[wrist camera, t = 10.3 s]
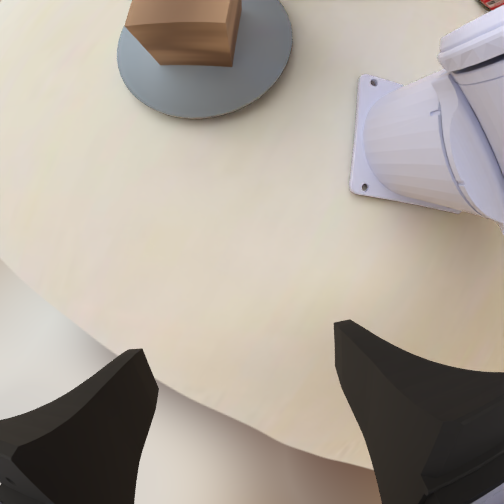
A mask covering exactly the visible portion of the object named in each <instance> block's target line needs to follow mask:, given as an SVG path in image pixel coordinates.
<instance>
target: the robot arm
mask: <svg viewBox="0 0 504 504" xmlns="http://www.w3.org/2000/svg"><path fill="white" fill-rule="evenodd" d="M440 51H441V52H440V53H439V54H438V55H437V59H438V61H439V62H440V64H441V65H442V66H443V68H444V69H442V70H439V71H437V72H435V73H432V74H430V75H428V76H425V77H423V78H421V79H418V80H416V81H414V82H412V83H409V84H407V85H405V86H404V85H401V84H398V83H395V82H392V81H389V80H386V79H382V78H379V77H375V76H372V75H368V74H363V75H361V76H360V77H359V79H358V93H357V109H356V123H355V135H354V146H353V156H352V165H351V174H350V182H349V188H350V191H351V192H352V193H354V194H358V195H364V196H370V197H376V198H382V199H388V200H393V201H398V202H404V203H409V204H414V205H419V206H424V207H429V208H434V209H438V210H443V211H447V212H452V213H456V214H459V213H461V212H462V211H464V212H467V213H471V214H474V215H478V216H481V217H484V218H488V219H491V220H493V221H495V222H496V223H497V224H498V225H499V227H500V229H501V231H502V234H503V235H504V5H502V6H500V7H498V8H496V9H494V10H492V11H490V12H488V13H486V14H484V15H482V16H480V17H478V18H476V19H474V20H472V21H470V22H468V23H467V24H465V25H463V26H461V27H459V28H457V29H456V30H454V31H452V32H450V33H449V34H447V35H445V36H444V37H442V38H441V39H440ZM371 81H374V82H375V85H376V86H372V84H371ZM363 184H366V185H367V189H366V191H363V190H362V185H363ZM334 339H335V367H336V371H337V374H338V377H339V381H340V384H341V387H342V390H343V392H344V394H345V396H346V398H347V401H348V403H349V405H350V407H351V409H352V411H353V413H354V416H355V418H356V420H357V422H358V424H359V426H360V429H361V431H362V433H363V436H364V438H365V441H366V444H367V447H368V451H369V454H370V457H371V461H372V464H373V468H374V472H375V475H376V479H377V483H378V487H379V492H380V496H381V500H382V504H504V373H502V372H481V371H473V370H466V369H460V368H455V367H451V366H447V365H443V364H439V363H436V362H433V361H430V360H427V359H424V358H421V357H419V356H416V355H413V354H411V353H409V352H407V351H404V350H402V349H400V348H398V347H396V346H394V345H392V344H390V343H388V342H387V341H385V340H383V339H381V338H380V337H378V336H376V335H375V334H373V333H371V332H370V331H368V330H366V329H365V328H363V327H362V326H360V325H358V324H357V323H355V322H353V321H352V320H345V321H340V322H335V323H334ZM158 390H159V388H158V386H157V383H156V381H155V379H154V376H153V374H152V372H151V369H150V367H149V364H148V362H147V359H146V357H145V354H144V352H143V349H129V350H127V351H125V352H124V353H122V354H121V355H119V356H118V357H117V358H115V359H114V360H113V361H111V362H110V363H109V364H107V365H106V366H105V367H103V368H102V369H101V370H100V371H98V372H97V373H96V374H94V375H93V376H92V377H90V378H89V379H87V380H86V381H85V382H83V383H82V384H80V385H79V386H78V387H76V388H75V389H73V390H71V391H70V392H68V393H67V394H65V395H63V396H62V397H60V398H58V399H56V400H54V401H52V402H50V403H48V404H46V405H44V406H42V407H39V408H37V409H35V410H33V411H30V412H27V413H24V414H21V415H18V416H15V417H12V418H8V419H3V420H0V483H1V485H0V504H134V498H135V488H136V480H137V473H138V467H139V461H140V457H141V453H142V450H143V447H144V444H145V441H146V438H147V435H148V431H149V428H150V425H151V422H152V419H153V416H154V413H155V409H156V403H157V397H158Z"/></svg>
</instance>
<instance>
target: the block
mask: <svg viewBox="0 0 504 504" xmlns="http://www.w3.org/2000/svg"><path fill="white" fill-rule="evenodd" d="M241 11H242V0H132V3H131V6H130V9H129V12H128V16H127V19H126V23H125V27H126V28H127V30H128V31H129V32H130V33H131V34H132V35H133V36H134V37H135V38H136V39H137V40H138V41H139V43H140V44H141V45H142V46H143V47H144V48H145V49H146V50H147V51H148V52H149V54H150V55H151V56H152V57H153V58H154V59H155V60H156V61H157V62H158V64H159V65H201V66H221V67H232V65H233V59H234V53H235V46H236V40H237V34H238V28H239V23H240V17H241Z"/></svg>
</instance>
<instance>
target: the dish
mask: <svg viewBox="0 0 504 504" xmlns="http://www.w3.org/2000/svg"><path fill="white" fill-rule="evenodd" d="M291 47H292V28H291V23H290V20H289V17H288V15H287V13H286V11H285V9H284V7H283V6H282V5H281V3H280V2H279V1H278V0H242V11H241V17H240V23H239V28H238V34H237V40H236V46H235V53H234V59H233V65H232V67H221V66H201V65H159V64H158V62H157V61H156V60H155V59H154V58H153V57H152V56H151V55H150V54H149V52H148V51H147V50H146V49H145V48H144V47H143V46H142V45H141V44H140V43H139V41H138V40H137V39H136V38H135V37H134V36H133V35H132V34H131V33H130V32H129V31H128V30H127V28H126V27H125V25H124V27H123V30H122V32H121V35H120V38H119V42H118V48H117V62H118V68H119V71H120V74H121V77H122V79H123V81H124V83H125V85H126V86H127V88H128V89H129V90H130V92H131V93H132V94H133V95H134V96H135V97H136V98H137V99H138V100H140V101H141V102H143V103H144V104H145V105H147V106H149V107H150V108H152V109H154V110H156V111H158V112H161V113H163V114H166V115H169V116H174V117H178V118H188V119H204V118H211V117H217V116H221V115H225V114H228V113H231V112H234V111H236V110H239V109H241V108H243V107H245V106H247V105H249V104H251V103H252V102H254V101H255V100H257V99H258V98H260V97H261V96H262V95H263V94H264V93H266V92H267V91H268V90H269V89H270V88H271V87H272V86H273V85H274V83H275V82H276V81H277V79H278V78H279V77H280V75H281V74H282V72H283V70H284V68H285V66H286V64H287V61H288V58H289V55H290V52H291Z"/></svg>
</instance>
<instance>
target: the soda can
mask: <svg viewBox="0 0 504 504" xmlns="http://www.w3.org/2000/svg"><path fill="white" fill-rule="evenodd" d="M479 1H480V2H481V3H482V4H484V5H485V6H486V7H488V8H489V9H491V10H494V9H496V8H498V7H500V6H502V5H504V0H479Z"/></svg>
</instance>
